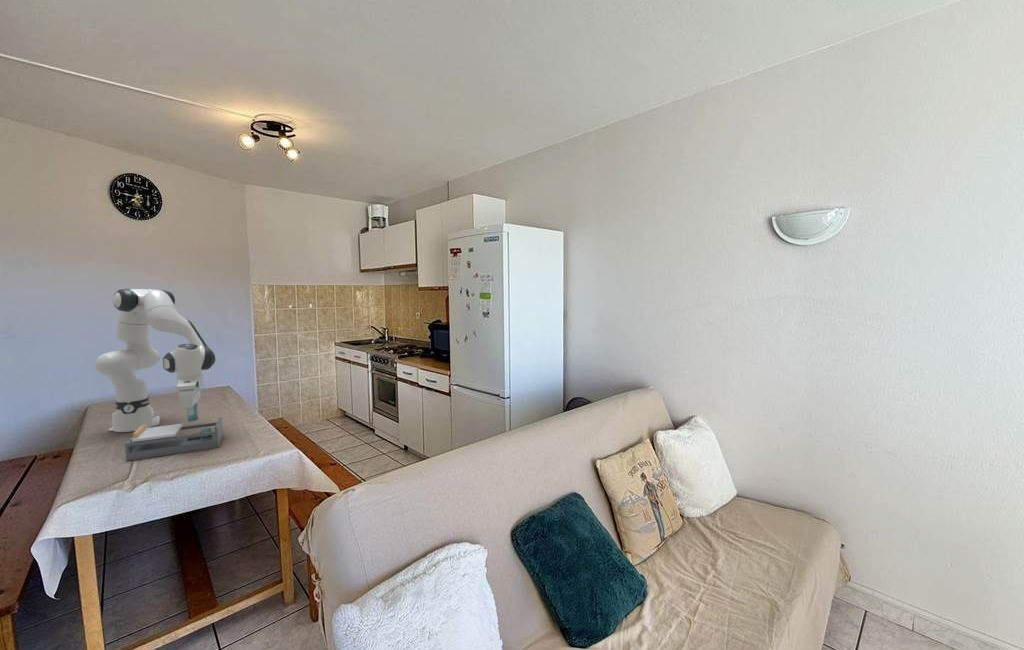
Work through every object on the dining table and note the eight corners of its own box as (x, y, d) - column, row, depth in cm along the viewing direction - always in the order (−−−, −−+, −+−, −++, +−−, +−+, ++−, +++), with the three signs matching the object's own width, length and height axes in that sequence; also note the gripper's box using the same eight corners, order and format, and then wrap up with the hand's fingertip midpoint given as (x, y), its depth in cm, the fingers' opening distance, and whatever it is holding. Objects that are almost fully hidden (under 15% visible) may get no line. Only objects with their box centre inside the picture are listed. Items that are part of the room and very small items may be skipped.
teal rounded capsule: (188, 419, 179) (187, 404, 178) (198, 418, 181) (197, 403, 180) (186, 421, 176) (185, 406, 175) (197, 420, 178) (196, 405, 177)
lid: (143, 430, 176) (143, 423, 176) (183, 425, 183) (182, 419, 183) (132, 442, 163) (131, 434, 163) (175, 436, 170) (174, 429, 170)
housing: (138, 448, 176) (136, 427, 175) (223, 436, 190) (222, 417, 190) (126, 460, 163) (124, 438, 162) (218, 447, 177) (217, 426, 176)
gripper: (186, 378, 184) (188, 408, 186) (175, 387, 167) (177, 420, 168) (203, 376, 187) (205, 406, 189) (194, 385, 170) (197, 418, 171)
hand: (192, 413), depth 178 cm, fingers closed on teal rounded capsule, 4 cm apart
